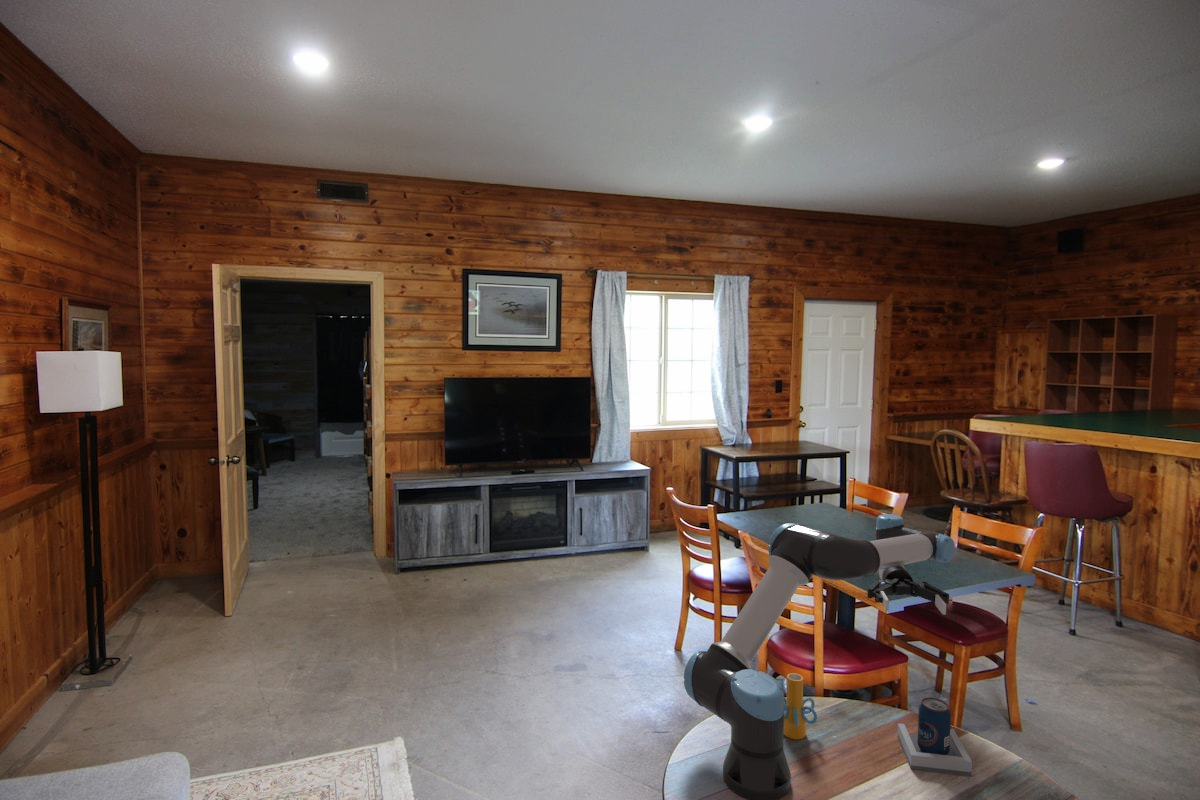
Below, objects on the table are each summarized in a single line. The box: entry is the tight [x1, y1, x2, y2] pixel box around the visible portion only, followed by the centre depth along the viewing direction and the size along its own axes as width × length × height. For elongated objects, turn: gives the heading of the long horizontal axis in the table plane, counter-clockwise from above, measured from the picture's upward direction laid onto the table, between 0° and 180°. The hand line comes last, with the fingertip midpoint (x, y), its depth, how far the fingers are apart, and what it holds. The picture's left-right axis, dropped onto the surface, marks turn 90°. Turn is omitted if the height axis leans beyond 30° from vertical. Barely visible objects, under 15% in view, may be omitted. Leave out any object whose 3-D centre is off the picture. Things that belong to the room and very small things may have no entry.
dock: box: [897, 723, 973, 777], centre depth 158 cm, size 13×13×4 cm
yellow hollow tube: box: [784, 672, 818, 740], centre depth 167 cm, size 12×10×15 cm
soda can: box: [917, 697, 952, 755], centre depth 158 cm, size 7×7×12 cm
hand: (915, 607), depth 167 cm, fingers open, 13 cm apart
